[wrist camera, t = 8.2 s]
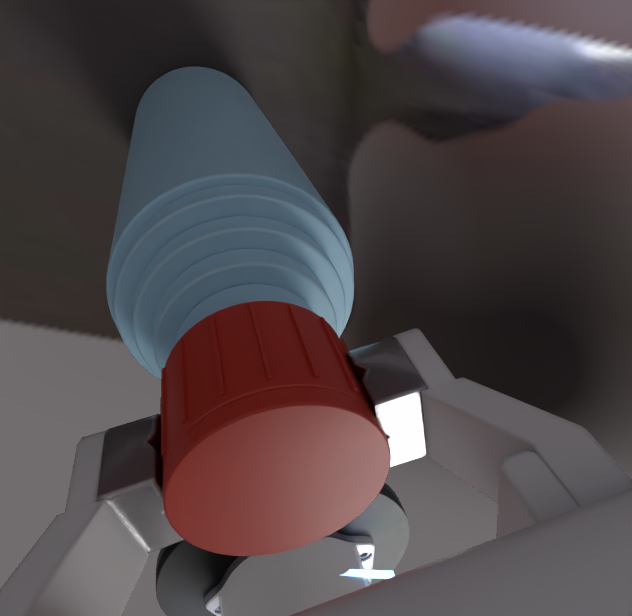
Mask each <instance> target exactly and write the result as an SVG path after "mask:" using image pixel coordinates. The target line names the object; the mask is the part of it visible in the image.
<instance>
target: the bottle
mask: <svg viewBox="0 0 632 616" xmlns="http://www.w3.org/2000/svg"><path fill="white" fill-rule="evenodd" d="M353 274H354V267H353V258H352V253H351V249H350V246H349V242H348V240H347V238H346V235H345V233H344V231H343V229H342V227H341V226H340V224H339V223H338V221H337V219H336V218H335V216H334V215H333V214H332V212H331V211H330V209H329V208H328V206H327V205H326V203H325V202H324V201H323V199H322V198H321V196H320V195H319V193H318V192H317V190H316V189H315V188H314V186H313V185H312V183H311V182H310V180H309V179H308V178H307V176H306V175H305V173H304V172H303V170H302V169H301V167H300V166H299V165H298V163H297V162H296V160H295V159H294V157H293V156H292V154H291V153H290V152H289V150H288V149H287V147H286V146H285V144H284V143H283V142H282V140H281V139H280V137H279V136H278V134H277V133H276V131H275V130H274V129H273V127H272V126H271V124H270V123H269V121H268V120H267V118H266V117H265V116H264V114H263V113H262V111H261V110H260V108H259V107H258V106H257V104H256V103H255V101H254V100H253V98H252V97H251V95H250V94H249V93H248V92H247V91H246V89H245V88H244V87H243V86H242V85H241V84H239V83H238V82H237V81H236V80H234V79H233V78H232V77H230V76H228V75H226V74H224V73H223V72H220V71H217V70H215V69H211V68H206V67H197V66H194V67H184V68H179V69H176V70H173V71H170V72H168V73H166V74H164V75H163V76H161V77H160V78H158V79H157V80H156V81H155V82H154V83H153V84H152V85H151V86H150V87H149V88H148V89H147V90H146V92H145V93H144V94H143V96H142V98H141V100H140V102H139V105H138V108H137V111H136V116H135V121H134V126H133V132H132V137H131V143H130V148H129V154H128V159H127V165H126V170H125V176H124V181H123V187H122V192H121V198H120V203H119V209H118V214H117V219H116V225H115V230H114V236H113V241H112V247H111V252H110V258H109V263H108V269H107V277H106V292H107V300H108V305H109V309H110V312H111V315H112V318H113V320H114V322H115V324H116V326H117V328H118V330H119V333H120V335H121V337H122V339H123V341H124V343H125V345H126V347H127V348H128V349H129V351H130V352H131V354H132V355H133V357H134V358H135V359H136V360H137V361H138V362H139V363H140V364H141V365H142V366H143V367H144V368H145V369H146V370H148V371H149V372H150V373H151V374H152V375H154V376H156V377H157V378H159V379H161V370H162V368H164V367H165V364H166V361H167V359H168V357H169V355H170V352H171V351H172V349H173V348H174V346H175V345H176V343H177V342H178V340H179V339H180V338H181V337H182V336H183V335H184V334H185V333H186V332H187V331H188V330H189V329H190V328H191V327H193V326H194V325H195V324H196V323H198V322H199V321H201V320H202V319H204V318H205V317H207V316H209V315H211V314H213V313H215V312H217V311H219V310H222V309H224V308H227V307H230V306H233V305H237V304H241V303H246V302H253V301H280V302H286V303H291V304H295V305H298V306H301V307H304V308H306V309H308V310H310V311H312V312H314V313H316V314H317V315H319V316H320V317H323V318H325V321H326V322H327V323H329V324H330V325H331V327H332V328H333V329H334V331H335V332H336V333H337V335H338V337H340V335H341V334H342V332H343V330H344V328H345V326H346V324H347V321H348V318H349V315H350V312H351V309H352V303H353V298H354V278H353Z"/></svg>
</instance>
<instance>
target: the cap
mask: <svg viewBox="0 0 632 616" xmlns="http://www.w3.org/2000/svg"><path fill="white" fill-rule="evenodd" d="M347 352H348V349H347V346H346V344H345V343H344V340H343V339H339V337H338V335H337V333H336V332H335V331H334V329H333V328H332V327H331V325H330V324H329V323H327V322H326V321H325V318H323V317H320V316H319V315H317V314H316V313H314V312H312V311H310V310H308V309H306V308H304V307H301V306H298V305H295V304H291V303H286V302H280V301H253V302H246V303H241V304H237V305H233V306H230V307H227V308H224V309H222V310H219V311H217V312H215V313H213V314H211V315H209V316H207V317H205V318H204V319H202V320H201V321H199V322H198V323H196V324H195V325H194V326H193V327H191V328H190V329H189V330H188V331H187V332H186V333H185V334H184V335H183V336H182V337H181V338H180V339H179V340H178V342H177V343H176V345H175V346H174V348H173V349H172V351H171V352H170V355H169V357H168V359H167V361H166V364H165V367H164V368H162V370H161V453H160V457H161V459H162V460H163V508H164V512H165V515H166V518H167V519H168V521H169V523H170V525H171V527H172V528H173V529H174V530H175V531H176V532H177V534H178V535H180V536H181V537H182V538H183V539H185V540H186V541H187V542H189V543H191V544H193V545H194V546H196V547H199V548H201V549H204V550H207V551H210V552H214V553H218V554H225V555H233V556H258V555H268V554H274V553H280V552H284V551H288V550H292V549H296V548H299V547H302V546H305V545H308V544H310V543H313V542H315V541H318V540H320V539H322V538H324V537H326V536H328V535H330V534H332V533H334V532H336V531H337V530H339V529H341V528H342V527H344V526H345V525H347V524H348V523H350V522H351V521H353V520H354V519H355V518H356V517H357V516H359V515H360V514H361V513H362V512H363V511H364V510H365V509H366V508H367V507H368V506H369V505H370V504H371V503H372V502H373V500H374V499H375V498H376V497H377V495H378V494H379V492H380V491H381V489H382V488H383V486H384V483H385V481H386V479H387V476H388V473H389V469H390V463H391V451H390V446H389V442H388V439H387V437H386V435H385V433H384V431H383V429H382V427H381V425H380V423H379V421H378V420H377V418H376V416H375V414H374V412H373V410H372V408H371V405H370V403H369V401H368V399H367V397H366V395H365V393H364V387H363V384H362V383H360V381H359V379H358V378H357V376H356V374H355V372H354V370H353V368H352V366H351V363H350V361H349V359H348V357H347Z"/></svg>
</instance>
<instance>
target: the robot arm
mask: <svg viewBox="0 0 632 616" xmlns="http://www.w3.org/2000/svg"><path fill="white" fill-rule="evenodd" d="M347 357H348V359H349V361H350V363H351V366H352V368H353V370H354V372H355V374H356V376H357V378H358V379H359V381H360V383H362V384H363V387H364V393H365V395H366V397H367V399H368V401H369V403H370V405H371V408H372V410H373V412H374V414H375V416H376V418H377V420H378V421H379V423H380V425H381V427H382V429H383V431H384V433H385V435H386V437H387V439H388V442H389V446H390V451H391V463H390V467H392V466H395V465H398V464H401V463H404V462H407V461H410V460H413V459H416V458H420V457H423V456H425V455H428V458H430V459H432V460H433V461H434V462H436V463H437V464H439V465H440V466H442V467H443V468H445V469H446V470H448V471H449V472H451V473H452V474H454V475H455V476H457V477H458V478H460V479H461V480H463V481H464V482H466V483H467V484H469V485H470V486H472V487H473V488H475V489H476V490H478V491H479V492H480V493H482V494H484V495H485V496H486V497H488V498H489V499H491V500H493V501H494V502H496V503H497V504H498V515H497V537H496V539H493V540H491V541H488V542H485V543H483V544H480V545H477V546H475V547H472V548H469V549H466V550H464V551H461V552H459V553H456V554H453V555H450V556H448V557H445V558H442V559H440V560H437V561H434V562H432V563H429V564H426V565H424V566H421V567H418V568H416V569H413V570H410V571H407V572H405V573H402V574H399V575H397V576H395V575H394V573H393V571H384V570H373V560H374V550H375V547H374V542H373V539H372V537H370V536H348V535H344V534H341V533H338V532H334V533H332V534H330V535H328V536H326V537H324V538H322V539H320V540H318V541H315V542H313V543H310V544H308V545H305V546H302V547H299V548H296V549H292V550H288V551H284V552H280V553H274V554H268V555H258V556H239V557H237V558H236V559H235V560H234V561H233V562H232V563H231V565H230V566H229V567H228V569H227V570H226V572H225V574H224V576H223V578H222V580H221V582H220V583H219V584H218V585H217V586H215V587H214V588H213V589H212V590H211V591H210V592H209V593H208V594H207V595H206V596H205V604H206V608H207V609H208V610H209V611H211V612H212V613H214V614H215V615H217V616H632V479H630V477H629V476H628V475H627V474H626V473H625V472H624V471H623V470H622V469H621V467H620V466H618V464H617V463H616V462H615V461H614V460H613V459H612V458H611V457H610V456H609V454H608V453H607V452H606V451H605V450H604V449H603V448H602V447H601V446H600V445H599V443H598V442H597V441H596V440H595V439H594V438H593V437H592V436H591V435H590V434H589V432H588V431H587V430H586V429H585V428H584V427H582V426H580V425H577V424H575V423H572V422H570V421H567V420H565V419H563V418H560V417H558V416H555V415H553V414H550V413H548V412H546V411H543V410H541V409H538V408H536V407H533V406H531V405H529V404H526V403H524V402H521V401H519V400H516V399H514V398H511V397H509V396H507V395H504V394H502V393H499V392H497V391H494V390H492V389H490V388H487V387H485V386H482V385H480V384H478V383H475V382H473V381H470V380H468V379H465V378H460V379H457V380H456V379H455V378H454V376H453V375H452V374H451V372H450V371H449V370H448V368H447V367H446V365H445V364H444V363H443V361H442V360H441V359H440V357H439V356H438V354H437V353H436V352H435V350H434V349H433V347H432V346H431V345H430V343H429V342H428V341H427V339H426V338H425V336H424V335H423V334H422V332H421V331H420V330H419V329H417V328H415V329H412V330H409V331H406V332H403V333H400V334H398V335H395V336H393V337H390V338H387V339H384V340H381V341H378V342H375V343H372V344H369V345H366V346H363V347H360V348H357V349H354V350H351V351H348V352H347ZM160 453H161V415H160V414H157V415H153V416H150V417H147V418H143V419H140V420H137V421H134V422H130V423H127V424H124V425H121V426H117V427H114V428H111V429H108V430H106V431H103V432H99V433H96V434H93V435H89V436H86V437H82V439H81V440H80V441H79V443H78V445H77V449H76V455H75V460H74V466H73V471H72V477H71V482H70V488H69V493H68V499H67V504H66V509H65V513H63V514H60V515H57V516H56V517H55V519H54V520H53V521H52V523H51V524H50V525H49V526H48V528H47V529H46V530H45V532H44V533H43V534H42V536H41V537H40V538H39V540H38V541H37V542H36V543H35V545H34V546H33V547H32V549H31V550H30V551H29V552H28V554H27V555H26V556H25V558H24V559H23V560H22V562H21V563H20V564H19V566H18V567H17V568H16V569H15V571H14V572H13V573H12V575H11V576H10V577H9V579H8V580H7V581H6V582H5V584H4V585H3V586H2V588H1V589H0V616H121V615H122V613H123V611H124V609H125V607H126V604H127V602H128V600H129V598H130V596H131V594H132V592H133V590H134V587H135V585H136V583H137V581H138V579H139V577H140V575H141V573H142V570H143V568H144V566H145V564H146V562H147V560H148V558H149V555H148V553H151V552H153V551H156V550H158V549H161V548H164V547H166V546H169V545H172V544H174V543H177V542H179V541H182V540H185V539H183V538H182V537H181V536H180V535H178V534H177V532H176V531H175V530H174V529H173V528H172V527H171V525H170V523H169V521H168V519H167V518H166V515H165V512H164V508H163V460H162V459H161V457H160ZM372 578H386V580H383V581H381V582H378V583H375V584H372V585H371V579H372Z"/></svg>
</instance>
